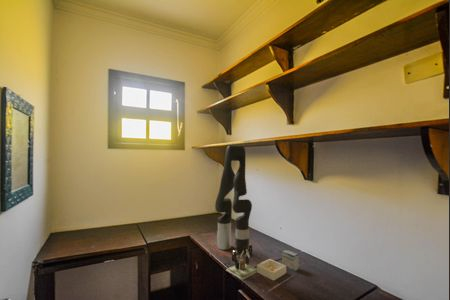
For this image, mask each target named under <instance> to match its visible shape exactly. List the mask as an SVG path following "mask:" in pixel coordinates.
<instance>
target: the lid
mask: <svg viewBox="0 0 450 300" xmlns="http://www.w3.org/2000/svg"><path fill="white" fill-rule="evenodd" d="M227 269H228V270H229V271H231V272H233V273H234V274H236V275H238V276H240V277H241V278H244V277H246V276H248V275H250V274H252V273H254V272H256V271H257V267H253V266H251V265H250V264H249V265H246V264H245V258H241V259H240V261H239V270H237V269H236V268H235V264H234V265H231V266H230V267H228V268H227Z"/></svg>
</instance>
